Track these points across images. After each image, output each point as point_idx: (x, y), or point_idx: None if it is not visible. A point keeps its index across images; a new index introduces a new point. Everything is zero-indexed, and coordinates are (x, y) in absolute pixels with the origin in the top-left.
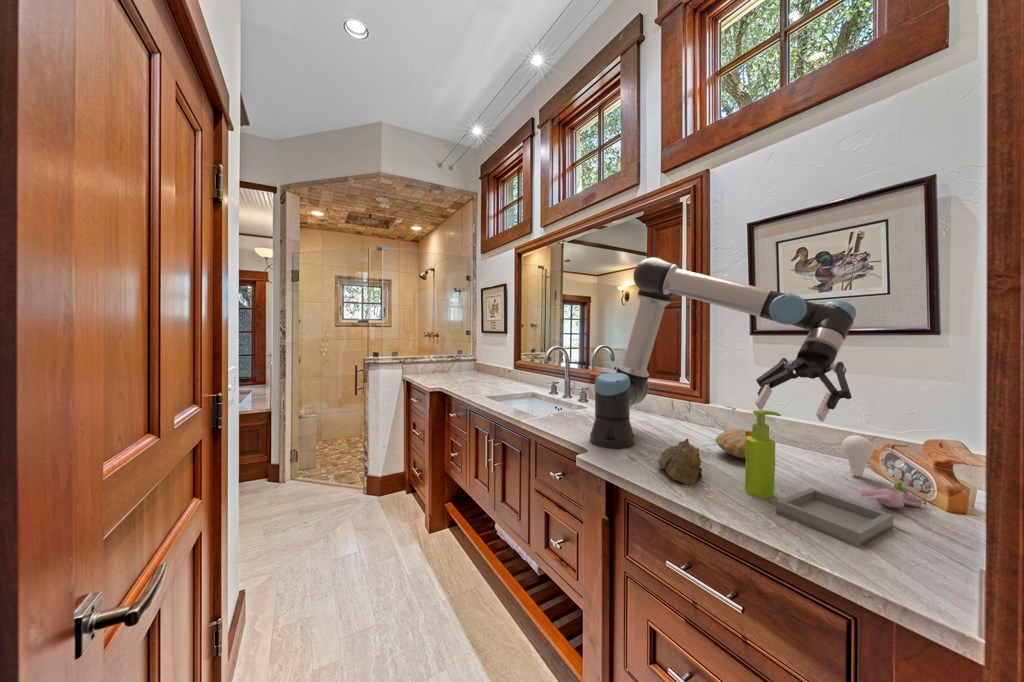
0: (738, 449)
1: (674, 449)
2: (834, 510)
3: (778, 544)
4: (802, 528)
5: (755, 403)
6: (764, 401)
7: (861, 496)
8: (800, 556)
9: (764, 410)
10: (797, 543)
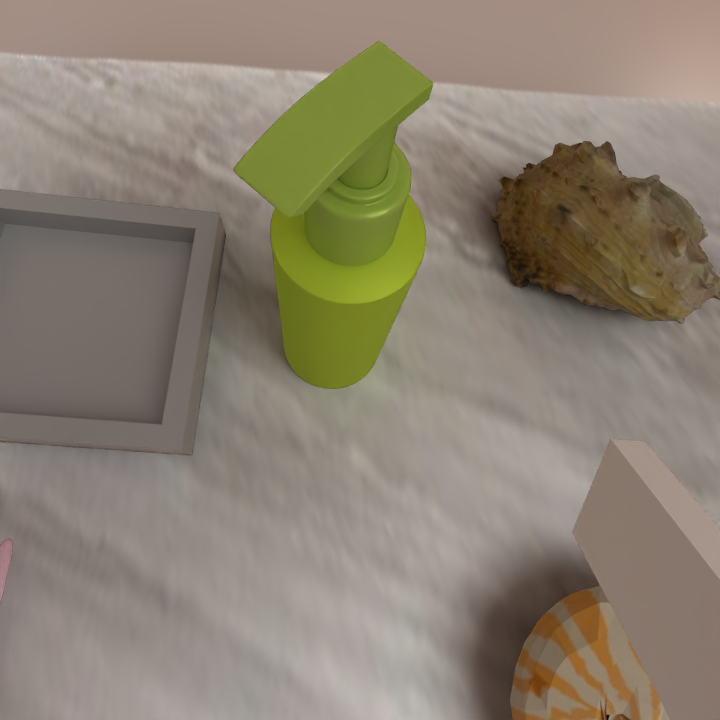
0: (592, 595)
1: (660, 201)
2: (90, 380)
3: (152, 75)
4: (138, 199)
5: (640, 449)
6: (632, 592)
7: (9, 540)
8: (98, 63)
9: (370, 132)
10: (121, 112)
